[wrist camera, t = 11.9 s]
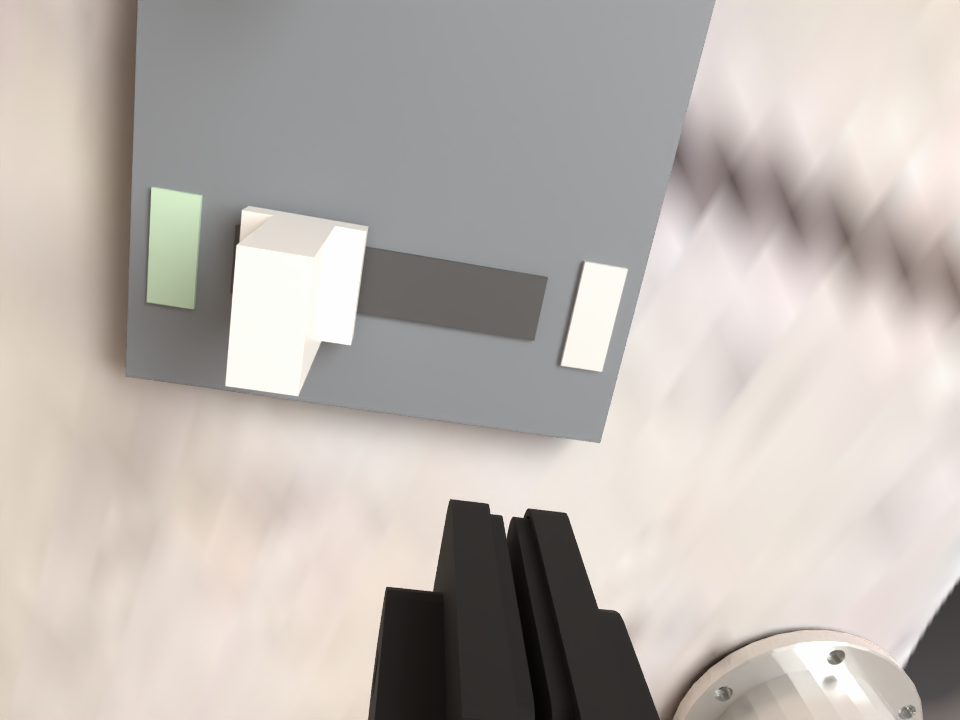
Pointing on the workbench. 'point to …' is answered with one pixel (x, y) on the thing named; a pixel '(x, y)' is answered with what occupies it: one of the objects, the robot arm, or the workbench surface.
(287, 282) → the breaker handle
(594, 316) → the breaker panel
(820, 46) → the workbench surface
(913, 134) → the workbench surface
